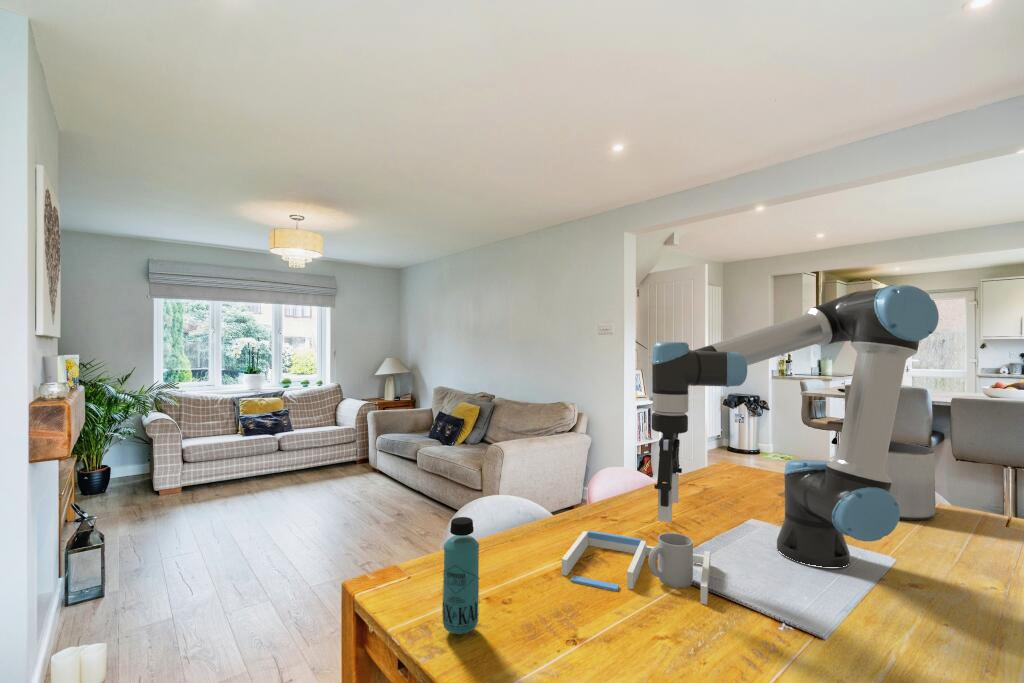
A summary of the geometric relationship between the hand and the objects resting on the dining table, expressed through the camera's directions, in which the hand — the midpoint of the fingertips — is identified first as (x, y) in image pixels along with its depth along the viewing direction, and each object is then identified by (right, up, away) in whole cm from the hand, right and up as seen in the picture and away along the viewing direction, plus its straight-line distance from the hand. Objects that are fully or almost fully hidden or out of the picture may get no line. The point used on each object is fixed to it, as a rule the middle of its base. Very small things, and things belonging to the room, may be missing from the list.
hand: (668, 511), depth 105 cm
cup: (0, -15, 0) cm, 15 cm away
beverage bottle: (-43, -15, -19) cm, 50 cm away
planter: (+84, -16, +47) cm, 97 cm away
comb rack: (-6, -15, +5) cm, 17 cm away
